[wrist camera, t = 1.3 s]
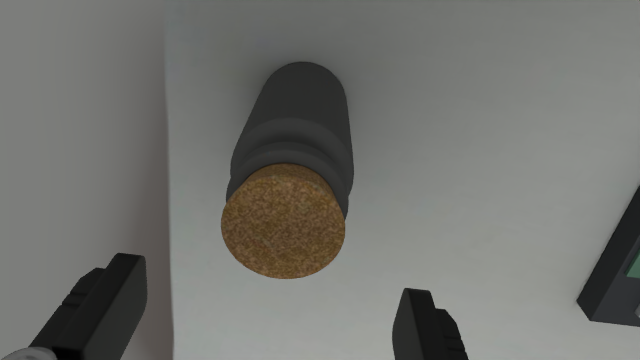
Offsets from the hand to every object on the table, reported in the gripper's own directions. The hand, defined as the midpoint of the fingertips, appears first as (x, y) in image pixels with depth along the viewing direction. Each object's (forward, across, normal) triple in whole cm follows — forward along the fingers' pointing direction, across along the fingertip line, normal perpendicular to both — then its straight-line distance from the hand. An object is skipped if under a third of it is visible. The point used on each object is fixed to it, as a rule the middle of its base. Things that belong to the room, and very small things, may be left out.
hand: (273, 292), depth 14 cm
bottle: (+18, 0, 0) cm, 19 cm away
